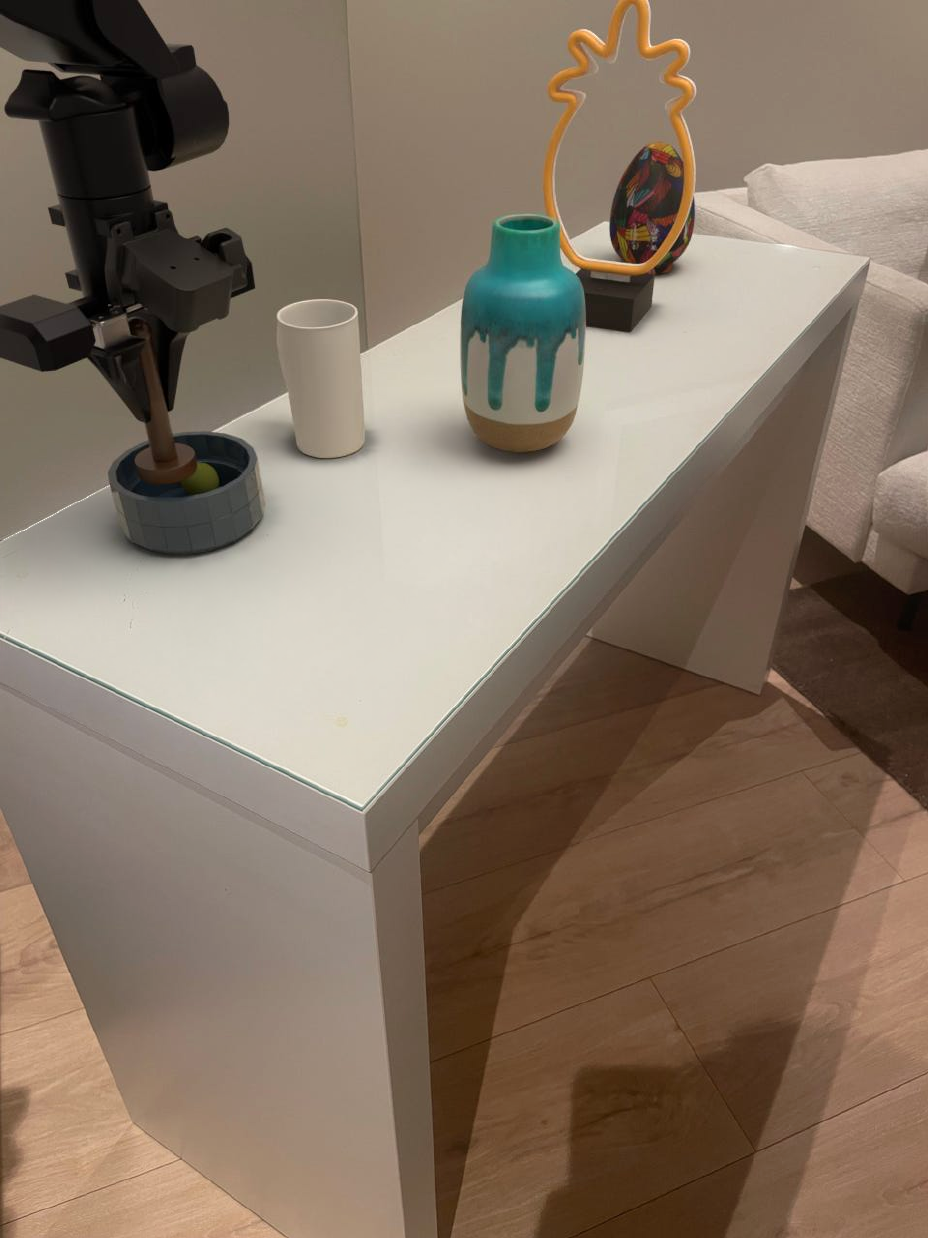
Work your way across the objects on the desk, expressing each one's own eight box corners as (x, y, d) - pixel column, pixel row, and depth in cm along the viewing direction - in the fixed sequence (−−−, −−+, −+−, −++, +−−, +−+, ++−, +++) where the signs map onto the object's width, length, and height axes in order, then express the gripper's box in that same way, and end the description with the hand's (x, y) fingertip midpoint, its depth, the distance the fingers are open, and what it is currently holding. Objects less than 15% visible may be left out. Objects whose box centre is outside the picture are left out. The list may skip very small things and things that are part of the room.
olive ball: (176, 499, 78) (169, 467, 76) (203, 484, 80) (197, 452, 78) (202, 510, 77) (196, 477, 75) (229, 494, 79) (223, 461, 77)
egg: (705, 269, 124) (723, 143, 115) (647, 286, 119) (661, 156, 110) (646, 249, 131) (659, 129, 121) (589, 265, 126) (597, 140, 116)
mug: (383, 443, 87) (374, 313, 79) (323, 468, 83) (307, 334, 76) (318, 408, 92) (304, 284, 85) (259, 430, 89) (239, 302, 82)
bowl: (93, 530, 75) (76, 475, 72) (197, 472, 83) (186, 419, 80) (193, 574, 70) (180, 517, 67) (294, 508, 78) (286, 453, 75)
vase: (460, 416, 91) (457, 204, 79) (571, 414, 91) (585, 202, 79) (462, 471, 82) (460, 243, 71) (584, 469, 82) (602, 240, 71)
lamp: (525, 316, 111) (534, -7, 92) (550, 292, 118) (564, -15, 98) (665, 337, 106) (707, -2, 86) (684, 310, 112) (727, -10, 93)
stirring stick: (125, 474, 72) (86, 321, 65) (169, 451, 75) (136, 302, 68) (166, 490, 70) (130, 334, 63) (209, 466, 73) (180, 314, 66)
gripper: (64, 246, 50) (130, 501, 60) (299, 173, 63) (322, 395, 72) (-60, 215, 55) (19, 456, 65) (180, 153, 67) (217, 363, 77)
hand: (155, 415), depth 70 cm, fingers closed on stirring stick, 2 cm apart
